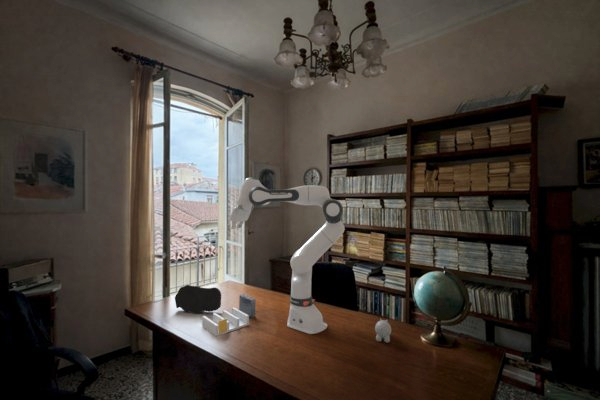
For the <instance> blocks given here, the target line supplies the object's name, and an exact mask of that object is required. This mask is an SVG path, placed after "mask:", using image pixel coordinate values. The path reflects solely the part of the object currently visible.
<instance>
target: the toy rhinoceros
mask: <svg viewBox="0 0 600 400" xmlns="http://www.w3.org/2000/svg"><path fill="white" fill-rule="evenodd" d="M374 331H375V333H376V336H375V340H376V341H377V342H382V341H384V343H387V344H388V343H390V342H391V337H390V335H391V333H392V327H391V324H389V322H388V319H386V320H385V319H382V318H380V320H379V321H377V322H376V324H375V326H374Z"/></svg>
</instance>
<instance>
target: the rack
mask: <svg viewBox="0 0 600 400" xmlns="http://www.w3.org/2000/svg"><path fill="white" fill-rule="evenodd" d="M201 319H202V321H201V322H202V324H201V325H202V328H204V329H205V330H207V331H208V332H210V333H211V334H212V335H213V336H215V337H218V336H221V335H224V334H227V333H230V332H232V331H236V330H239V329H241V328H244V327H247V326H250V318H249V315H247V314H245V313H243V312H242V311H240V310H239V309H238V308H236V307H232V308H231V312H229V311H227V310H222V316H221V315H219V314H217V313H216V312H214V313H212V319H210V318H209V317H207V316H206V315H202V318H201Z"/></svg>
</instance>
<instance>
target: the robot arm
mask: <svg viewBox="0 0 600 400" xmlns="http://www.w3.org/2000/svg"><path fill="white" fill-rule="evenodd" d="M273 202H274V203H275V202H285V203H291V204H294V205H300V206H319V207H320V208H321V212H322V215H323V216H324V218H325V219H326V221H325V222H324V224H323V225H322V227H319V229H318V230H317V231H316V232H315V233H314V234H313V235H312V236H311V237H310V238H308V240H307V241H306V242H305V243H304V244H303V245H302V246H301V247H300V248H299V249H297V250H295V252H294V253H293V255H292V257H290V260H289V261H290V262H289V264H290V267H291V270H292V271H291V272H292V273H291V280H290V281H291V283H290V285H291V287H290V296H289V303H290V304H289V305H290V306H289V311H288V317H287V321H286V322H287V324H286V326H287V327H288V328H291V329H294V330H296V331H300V332H302V333H306V334H308V335H313V334H319V333H321V332H323V331H325V330H326V329H327V328H328V324H327V323H326V322H324V317H323V314H322V313H321V311H320V310H319V309H318V308H317V307H316V305H315V304H314V303H315V301H316V299H315V298H314V299H313V296H312V277H313V276H312V275H313V266H314V265H315V264H316V263H317V262H318V261H319V259H320V258H321V257H322V256H323V255H324V254H325V253H326V252H327V251H328V250H329V249H330V248H331V247H333V246H334V244H335V243H337V241H338V240H339V239H340V237H342V235H343V234H344V232H345V230H346V229H345V224H344V223H343V221H342V216H343V213H344V207H343V204H342V203H341V202H340V201H339V200H338V199H334V198H331V196H330V191H329V189H328V188H327V186H324V185H313V184H310V185H308V184H307V185H300V186H295V187H291V188H287V189H286V188H285V189H268V188H267V187H265V186H264V185H263V184H262V183H261V182H260V179H257V178H253V177H247V178H245V179H244V181H243V183H242V185H241V188H240V192H239V195H238V197H237V200H236V203H235V207H234V208H233V209H232V212H231V214H230V217H229V221H230V222H231V227H230V229H231V230H236V228H238V229H241V228H242V226H243V225H244V223H245V222H247V221H248V220H249V217H250V216H251V213H252V211H253V209H254V206H255V207H259V206H267V205H269V204H270V203H273ZM237 223H238V224H237ZM236 226H237V227H236Z"/></svg>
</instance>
